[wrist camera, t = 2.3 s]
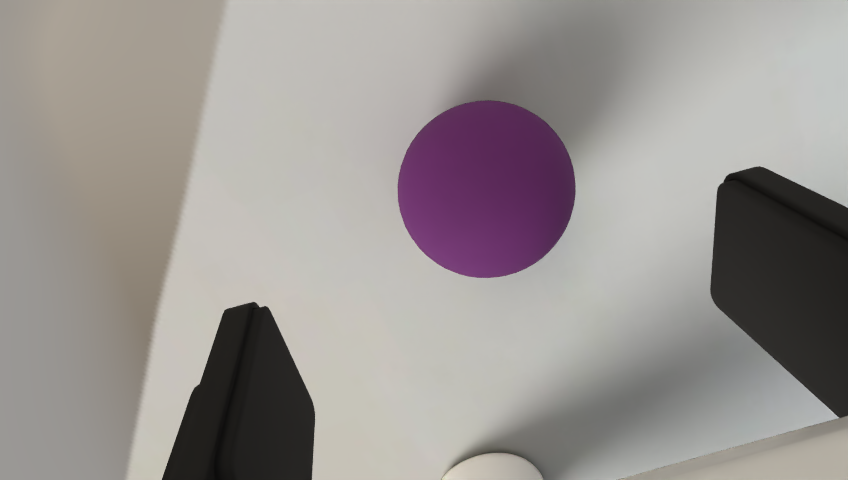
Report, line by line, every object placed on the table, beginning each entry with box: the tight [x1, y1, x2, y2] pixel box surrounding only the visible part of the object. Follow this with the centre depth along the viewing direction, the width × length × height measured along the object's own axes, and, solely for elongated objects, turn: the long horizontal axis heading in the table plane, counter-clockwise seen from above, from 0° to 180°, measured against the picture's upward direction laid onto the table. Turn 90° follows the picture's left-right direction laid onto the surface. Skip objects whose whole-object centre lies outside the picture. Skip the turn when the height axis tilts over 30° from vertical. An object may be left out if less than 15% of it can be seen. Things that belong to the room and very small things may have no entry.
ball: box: [398, 101, 575, 278], centre depth 15 cm, size 5×5×5 cm
